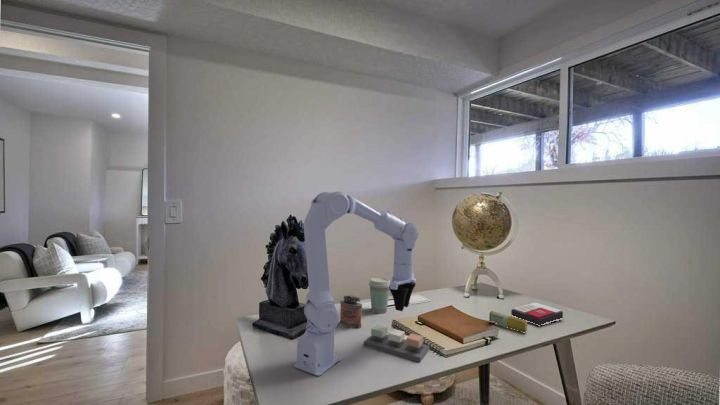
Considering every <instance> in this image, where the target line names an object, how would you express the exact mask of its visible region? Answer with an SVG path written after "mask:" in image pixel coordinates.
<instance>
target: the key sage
mask: <svg viewBox="0 0 720 405" xmlns="http://www.w3.org/2000/svg"><path fill="white" fill-rule="evenodd" d="M388 329H389V328H388V326H383V325H380V324H376V325H374V326H373V327H372V328H371V330H370V336H371V335H374V336H377V337H381V338H383V337H384V336H385V335H386V334H387V335H388Z"/></svg>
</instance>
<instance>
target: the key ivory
mask: <svg viewBox="0 0 720 405" xmlns="http://www.w3.org/2000/svg"><path fill="white" fill-rule="evenodd" d="M405 333H406V332H405V331H402V330H399V329H395V328H392V329H391V330H390V331H389V332H387V335H388V340H392V341H395V342H399V343H400V342H401V341H402V340H403V339H404V338H405V335H406V334H405Z"/></svg>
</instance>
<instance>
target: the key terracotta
mask: <svg viewBox="0 0 720 405" xmlns="http://www.w3.org/2000/svg"><path fill="white" fill-rule="evenodd" d="M407 336H408V337H407V338H406V345H410V346H414V347H417V348H419V347H420V346H421V345H422V344H424V336H423V335H418V334H415V333H412V332H411V333H410V334H409V335H407Z"/></svg>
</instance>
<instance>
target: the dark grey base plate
mask: <svg viewBox="0 0 720 405" xmlns="http://www.w3.org/2000/svg"><path fill="white" fill-rule="evenodd" d="M363 346H364V347H367V348H371V349H375V350H378V351H380V352H384V353H389V354H391V355H395V356H397V357H401V358H405V359H408V360H411V361H414V362H417V363H421V362H422V360H423V359H424V358H425V356H426V355H427V353H428V352H429V351H430V345H429V344H428V345H427V344H424V343H422V345H421V346H420V347H419V348H417V347H414V346H410V345H406V339H403V340H402V341H401V342H400V343H399V342H395V341H392V340H388V333H387V334H386V335H385V336H384V337H383V338H381V337H377V336H374V335H371V334H370V336H369V337H368V338H366V339H365V340H364V341H363Z"/></svg>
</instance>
